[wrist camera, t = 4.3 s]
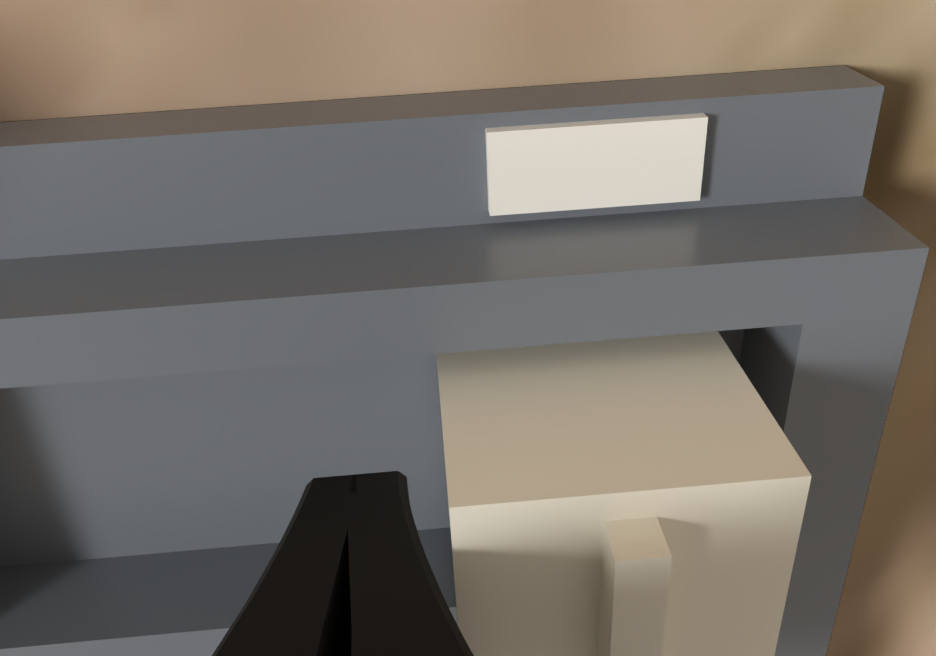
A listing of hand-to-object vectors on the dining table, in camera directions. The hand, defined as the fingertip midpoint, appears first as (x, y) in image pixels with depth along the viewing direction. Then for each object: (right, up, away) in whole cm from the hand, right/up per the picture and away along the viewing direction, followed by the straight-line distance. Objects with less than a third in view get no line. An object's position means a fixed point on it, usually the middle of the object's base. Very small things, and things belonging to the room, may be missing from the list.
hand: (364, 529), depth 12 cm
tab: (+3, +1, +2) cm, 4 cm away
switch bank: (0, -2, +5) cm, 5 cm away
